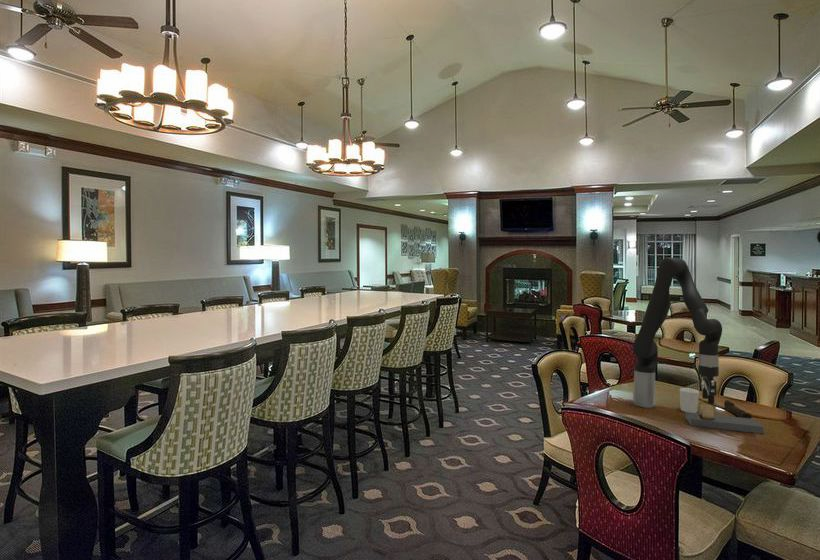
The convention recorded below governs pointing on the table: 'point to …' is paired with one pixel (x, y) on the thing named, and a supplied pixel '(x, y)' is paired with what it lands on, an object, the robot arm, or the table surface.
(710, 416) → the brass block
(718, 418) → the post plate
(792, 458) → the table surface
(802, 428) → the table surface
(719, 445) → the table surface
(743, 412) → the hand tool
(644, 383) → the robot arm
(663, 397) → the table surface
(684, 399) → the white cup
